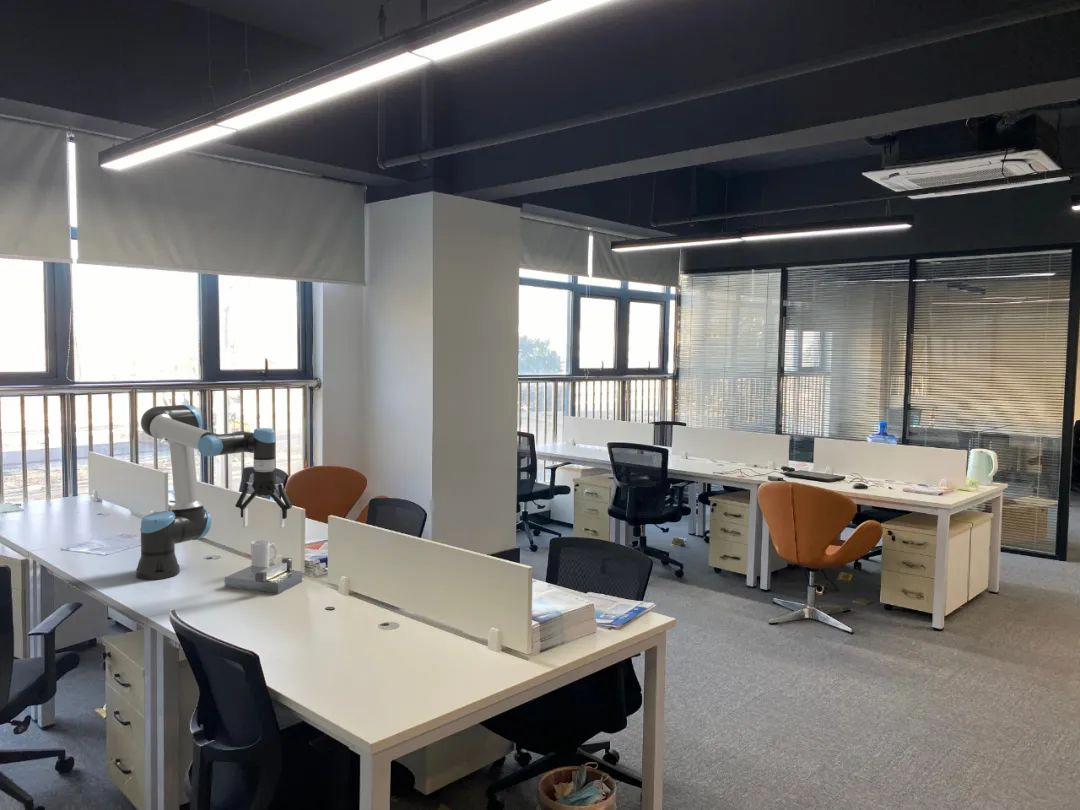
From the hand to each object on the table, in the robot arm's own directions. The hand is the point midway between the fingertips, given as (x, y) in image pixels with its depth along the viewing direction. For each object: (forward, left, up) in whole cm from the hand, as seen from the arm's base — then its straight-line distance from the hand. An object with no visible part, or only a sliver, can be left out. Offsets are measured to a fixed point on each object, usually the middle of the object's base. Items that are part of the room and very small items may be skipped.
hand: (263, 526), depth 287 cm
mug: (-9, +15, -22) cm, 28 cm away
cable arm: (+6, -1, -17) cm, 18 cm away
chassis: (+1, 0, -22) cm, 22 cm away
